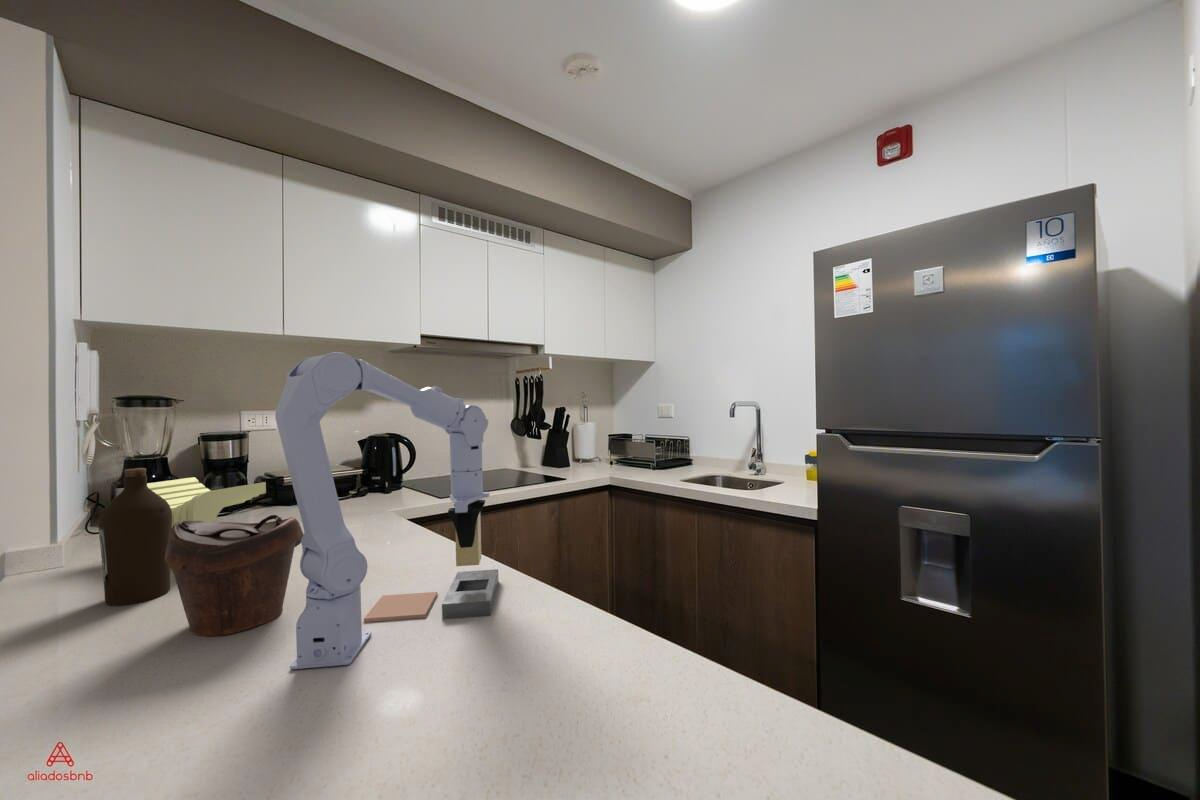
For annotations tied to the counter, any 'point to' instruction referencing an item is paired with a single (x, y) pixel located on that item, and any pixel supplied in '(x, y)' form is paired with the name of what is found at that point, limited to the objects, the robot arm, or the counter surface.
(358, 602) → the robot arm
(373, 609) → the terracotta tile
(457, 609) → the grey slotted block
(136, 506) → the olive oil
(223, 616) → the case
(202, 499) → the slatted curved stool
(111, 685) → the counter surface
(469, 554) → the brass bar
